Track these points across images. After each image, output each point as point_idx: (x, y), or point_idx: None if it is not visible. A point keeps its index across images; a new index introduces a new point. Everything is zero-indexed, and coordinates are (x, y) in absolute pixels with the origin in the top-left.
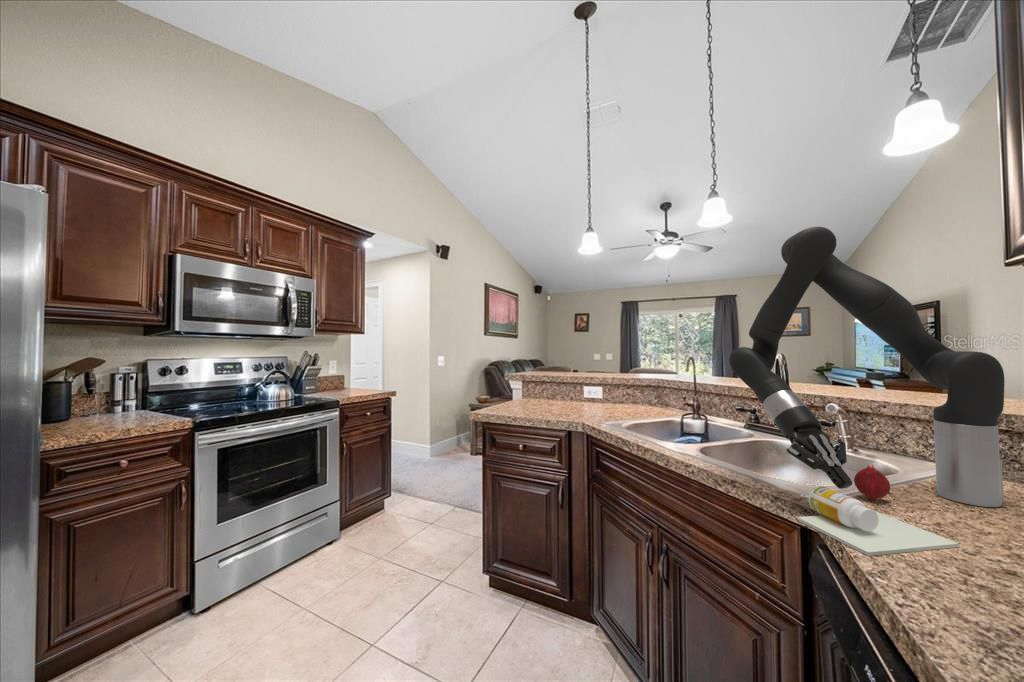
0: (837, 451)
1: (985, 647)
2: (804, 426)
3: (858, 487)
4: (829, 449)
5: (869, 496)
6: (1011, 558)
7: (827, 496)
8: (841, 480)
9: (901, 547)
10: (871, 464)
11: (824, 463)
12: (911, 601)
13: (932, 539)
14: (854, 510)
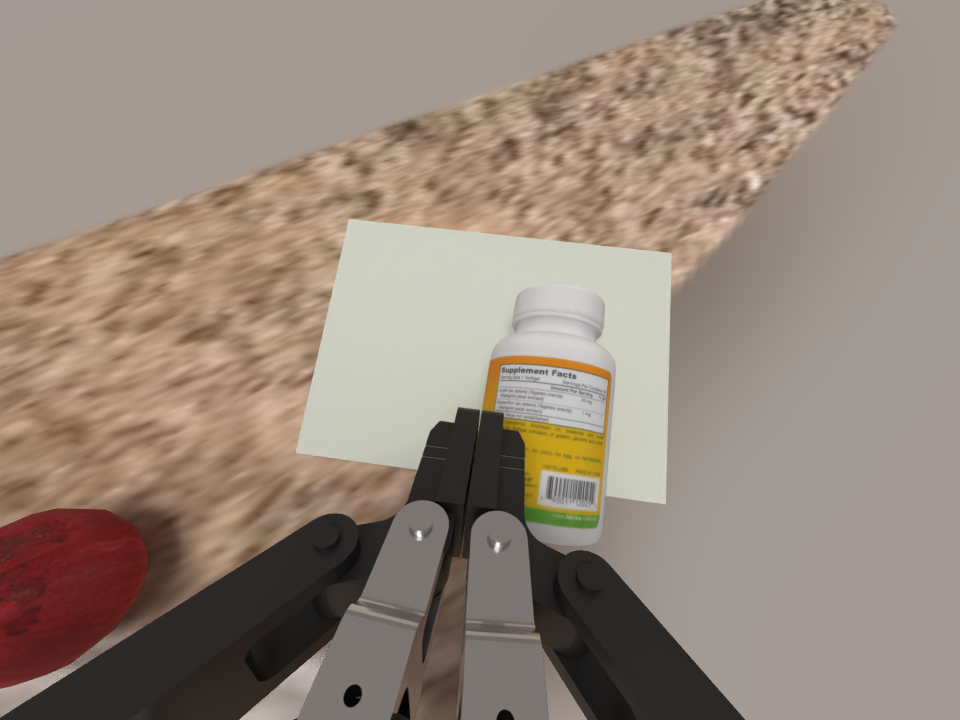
0: (211, 683)
1: (780, 20)
2: None
3: (126, 609)
4: (373, 686)
5: (147, 556)
6: (305, 160)
7: (598, 445)
8: (503, 440)
9: (542, 245)
10: None
11: (536, 569)
12: (769, 117)
13: (388, 253)
14: (598, 323)
